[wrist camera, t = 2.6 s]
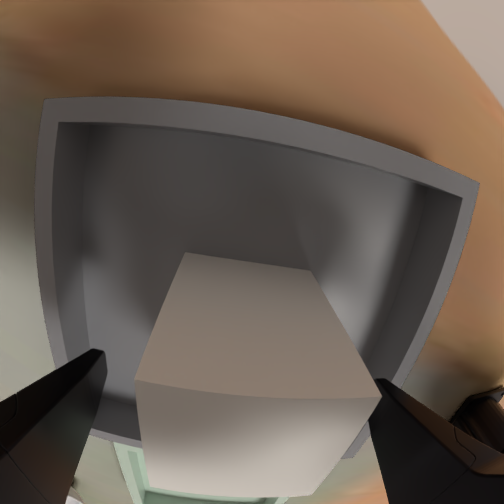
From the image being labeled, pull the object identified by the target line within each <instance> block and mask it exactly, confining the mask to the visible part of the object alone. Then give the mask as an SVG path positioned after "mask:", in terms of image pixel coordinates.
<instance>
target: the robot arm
mask: <svg viewBox="0 0 504 504" xmlns="http://www.w3.org/2000/svg"><path fill="white" fill-rule="evenodd" d="M107 373H108V369H107V362H106V354H105V352H104V351H103V350H100V349H96V348H92V349H90V350H88V351H86V352H85V353H83V354H81V355H80V356H78V357H76V358H75V359H73V360H71V361H69V362H68V363H66V364H64V365H63V366H61V367H59V368H58V369H56V370H54V371H53V372H51V373H49V374H47V375H46V376H44V377H42V378H41V379H39V380H37V381H36V382H34V383H32V384H30V385H29V386H27V387H25V388H24V389H22V390H20V391H19V392H17V394H13V395H12V396H10V397H8V398H6V399H5V400H3V401H1V402H0V504H65V503H66V500H67V497H68V494H69V490H70V487H71V484H72V481H73V478H74V475H75V472H76V469H77V466H78V463H79V460H80V457H81V455H82V452H83V449H84V446H85V444H86V441H87V438H88V436H89V433H90V430H91V428H92V425H93V423H94V420H95V417H96V414H97V411H98V407H99V404H100V400H101V396H102V392H103V389H104V385H105V381H106V378H107ZM374 382H375V384H376V386H377V388H378V390H379V391H380V393H381V395H382V397H381V399H380V401H379V402H378V404H377V406H376V407H375V409H374V411H373V412H372V414H371V415H370V417H369V419H368V423H369V429H370V434H371V438H372V442H373V445H374V449H375V452H376V456H377V459H378V463H379V467H380V470H381V474H382V478H383V482H384V485H385V489H386V493H387V497H388V501H389V504H504V409H503V408H502V407H501V405H500V404H499V401H500V400H501V398H502V397H503V395H504V388H500V389H497V390H493V391H490V392H486V393H482V394H478V395H475V396H471V397H469V398H468V399H467V400H466V401H465V403H464V404H463V406H462V407H461V408H460V410H459V411H458V413H457V414H456V415H455V417H454V418H453V419H452V421H451V422H450V423H449V422H448V421H446V420H445V419H443V418H442V417H440V416H439V415H437V414H436V413H434V412H433V411H432V410H430V409H429V408H427V407H426V406H424V405H423V404H421V403H420V402H419V401H417V400H416V399H414V398H413V397H411V396H410V395H408V394H407V393H406V392H404V391H403V390H401V389H400V388H398V387H397V386H396V385H394V384H393V383H391V382H390V381H389V380H387V379H386V378H375V379H374Z"/></svg>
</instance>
